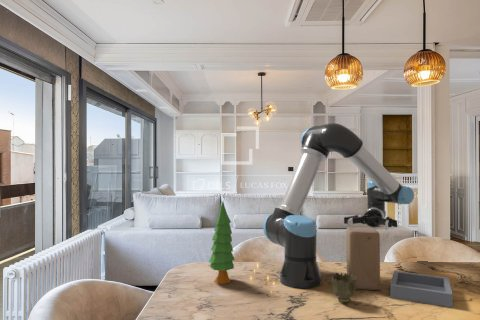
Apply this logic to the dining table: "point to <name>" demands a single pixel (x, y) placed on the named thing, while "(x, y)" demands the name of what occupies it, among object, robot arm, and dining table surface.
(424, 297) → the gray square tray
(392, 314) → the dining table surface
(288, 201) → the robot arm
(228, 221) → the decorative tree
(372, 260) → the wooden block
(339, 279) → the cup
